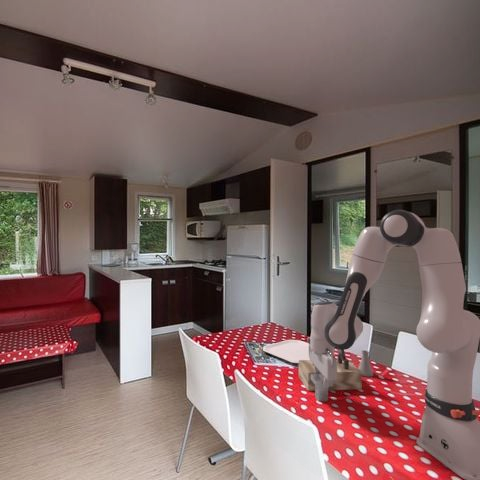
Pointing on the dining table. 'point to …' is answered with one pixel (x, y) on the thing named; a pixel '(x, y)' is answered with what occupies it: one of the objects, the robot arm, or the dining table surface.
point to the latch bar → (341, 354)
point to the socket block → (346, 375)
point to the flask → (365, 364)
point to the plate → (289, 350)
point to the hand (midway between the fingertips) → (321, 381)
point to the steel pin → (320, 387)
